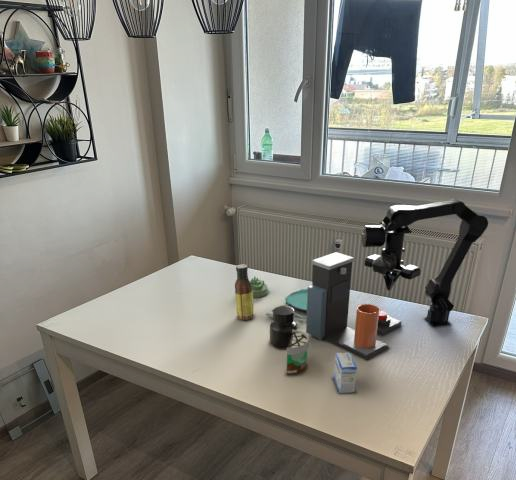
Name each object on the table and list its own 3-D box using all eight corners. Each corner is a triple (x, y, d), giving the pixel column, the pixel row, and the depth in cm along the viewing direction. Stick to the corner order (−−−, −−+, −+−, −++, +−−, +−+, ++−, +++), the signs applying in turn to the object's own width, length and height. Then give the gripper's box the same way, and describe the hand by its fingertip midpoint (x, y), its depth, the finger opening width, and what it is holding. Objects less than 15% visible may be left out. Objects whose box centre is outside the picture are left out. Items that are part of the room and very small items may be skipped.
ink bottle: (291, 334, 167) (291, 302, 161) (302, 346, 160) (303, 313, 154) (264, 339, 164) (264, 307, 158) (274, 352, 157) (274, 318, 151)
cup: (370, 337, 161) (373, 303, 155) (378, 347, 155) (383, 312, 149) (350, 339, 160) (353, 305, 154) (358, 350, 154) (362, 314, 148)
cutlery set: (348, 303, 188) (348, 297, 187) (298, 330, 170) (298, 324, 168) (307, 289, 200) (308, 284, 199) (257, 313, 182) (257, 308, 180)
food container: (306, 379, 143) (307, 350, 138) (286, 377, 144) (286, 348, 139) (311, 358, 153) (312, 330, 148) (292, 356, 154) (292, 328, 149)
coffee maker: (331, 322, 175) (336, 251, 162) (388, 347, 158) (399, 271, 145) (304, 334, 167) (307, 261, 154) (361, 362, 150) (369, 284, 137)
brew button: (379, 314, 172) (379, 309, 171) (388, 318, 170) (389, 313, 169) (372, 317, 170) (372, 313, 169) (381, 321, 167) (382, 317, 166)
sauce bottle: (256, 314, 181) (254, 263, 171) (250, 322, 176) (248, 270, 166) (239, 312, 183) (237, 262, 173) (233, 319, 178) (231, 268, 168)
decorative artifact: (272, 292, 198) (256, 285, 205) (272, 276, 195) (255, 270, 201) (254, 299, 192) (238, 292, 199) (253, 283, 189) (237, 276, 195)
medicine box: (333, 378, 143) (335, 352, 139) (348, 377, 144) (350, 351, 139) (339, 393, 136) (341, 367, 132) (355, 392, 137) (357, 366, 132)
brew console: (377, 316, 178) (378, 307, 176) (400, 325, 171) (402, 316, 169) (358, 326, 172) (359, 317, 170) (381, 336, 165) (382, 326, 163)
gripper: (355, 245, 161) (352, 288, 168) (404, 258, 148) (398, 305, 156) (376, 237, 167) (372, 280, 175) (424, 250, 154) (418, 295, 162)
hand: (389, 290), depth 167 cm, fingers closed
